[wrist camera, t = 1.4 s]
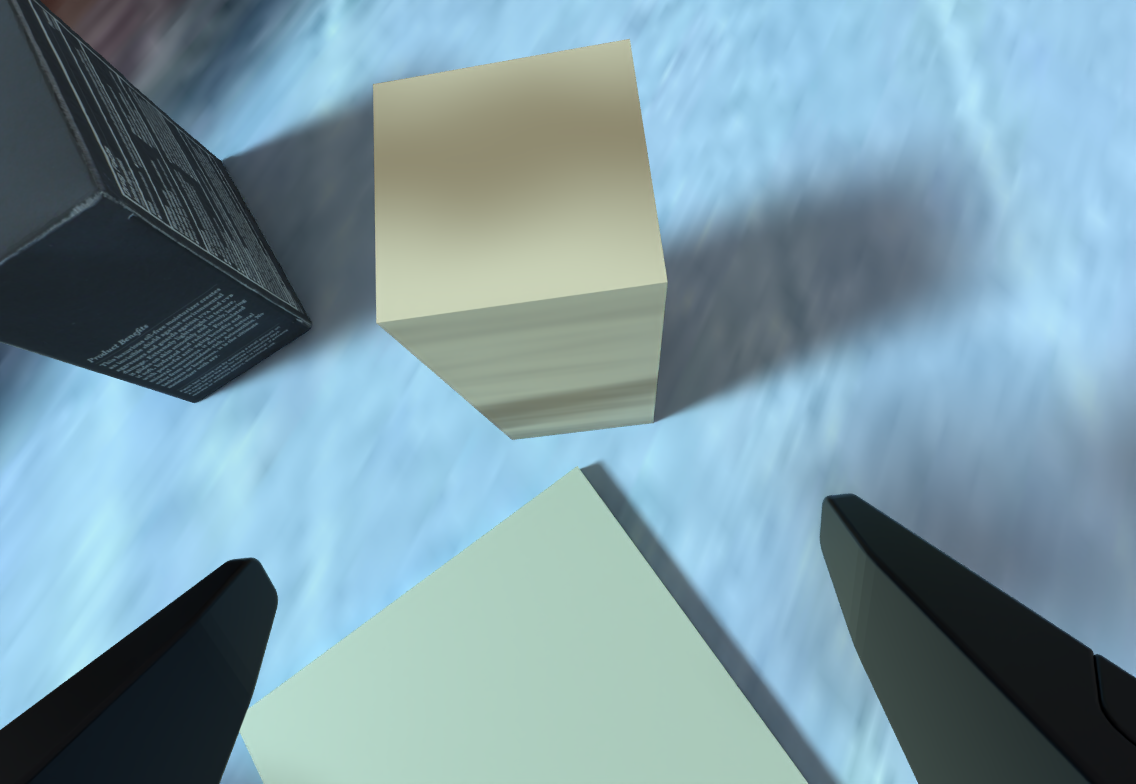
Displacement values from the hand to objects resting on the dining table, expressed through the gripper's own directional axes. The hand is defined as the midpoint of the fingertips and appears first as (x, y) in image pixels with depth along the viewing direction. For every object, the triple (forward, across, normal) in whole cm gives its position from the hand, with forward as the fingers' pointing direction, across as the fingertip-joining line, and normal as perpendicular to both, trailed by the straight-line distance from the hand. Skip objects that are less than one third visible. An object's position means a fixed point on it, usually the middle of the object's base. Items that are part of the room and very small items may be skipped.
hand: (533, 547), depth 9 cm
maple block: (+14, 0, +4) cm, 15 cm away
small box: (+19, +16, 0) cm, 25 cm away
